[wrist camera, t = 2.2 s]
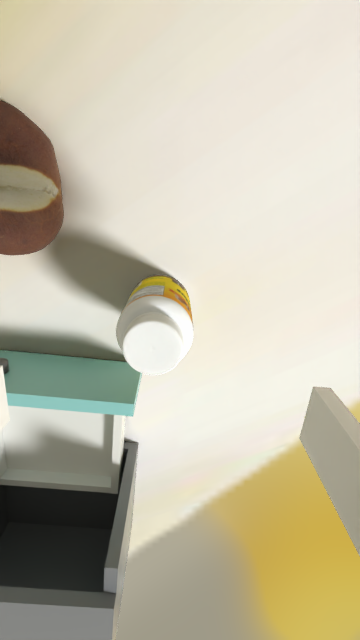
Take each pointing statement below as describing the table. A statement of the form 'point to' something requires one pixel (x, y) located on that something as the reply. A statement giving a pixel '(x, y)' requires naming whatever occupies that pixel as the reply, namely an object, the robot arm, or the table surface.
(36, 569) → the housing
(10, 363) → the teal drawer
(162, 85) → the table surface
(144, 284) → the supplement bottle
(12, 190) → the bread
